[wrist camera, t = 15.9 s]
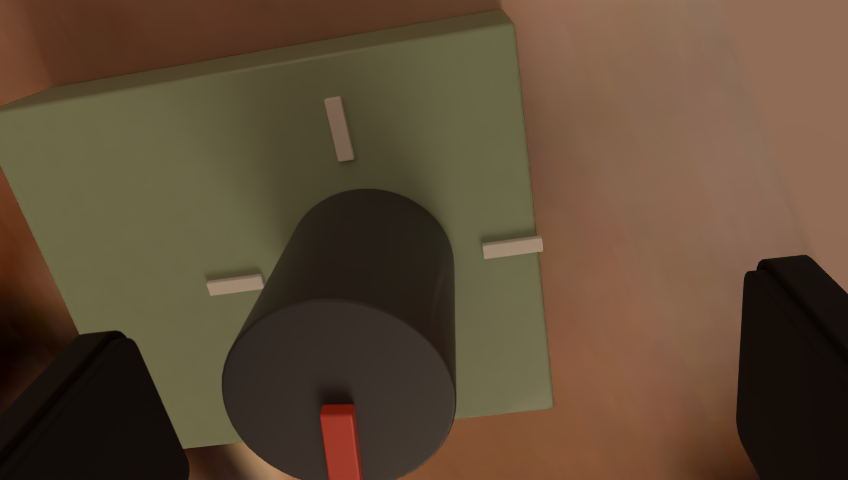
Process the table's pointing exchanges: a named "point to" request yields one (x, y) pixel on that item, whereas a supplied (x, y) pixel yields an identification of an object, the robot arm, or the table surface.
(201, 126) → the panel
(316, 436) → the dial
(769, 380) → the robot arm
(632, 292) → the table surface
